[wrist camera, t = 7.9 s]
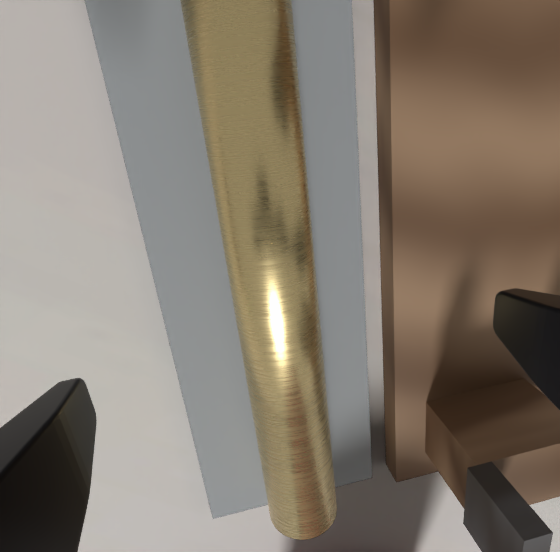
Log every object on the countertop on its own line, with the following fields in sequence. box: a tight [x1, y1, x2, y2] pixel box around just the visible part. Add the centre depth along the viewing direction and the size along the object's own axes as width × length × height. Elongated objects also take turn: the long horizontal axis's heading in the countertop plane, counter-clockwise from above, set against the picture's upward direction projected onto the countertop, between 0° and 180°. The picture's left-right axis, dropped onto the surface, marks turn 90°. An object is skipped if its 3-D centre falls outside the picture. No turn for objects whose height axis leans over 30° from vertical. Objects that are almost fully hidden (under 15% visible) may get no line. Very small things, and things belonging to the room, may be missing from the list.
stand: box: [374, 0, 560, 552], centre depth 14 cm, size 26×8×8 cm, turn 7°
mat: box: [85, 0, 372, 519], centre depth 16 cm, size 8×26×1 cm, turn 7°
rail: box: [180, 0, 337, 540], centre depth 15 cm, size 24×3×3 cm, turn 7°
